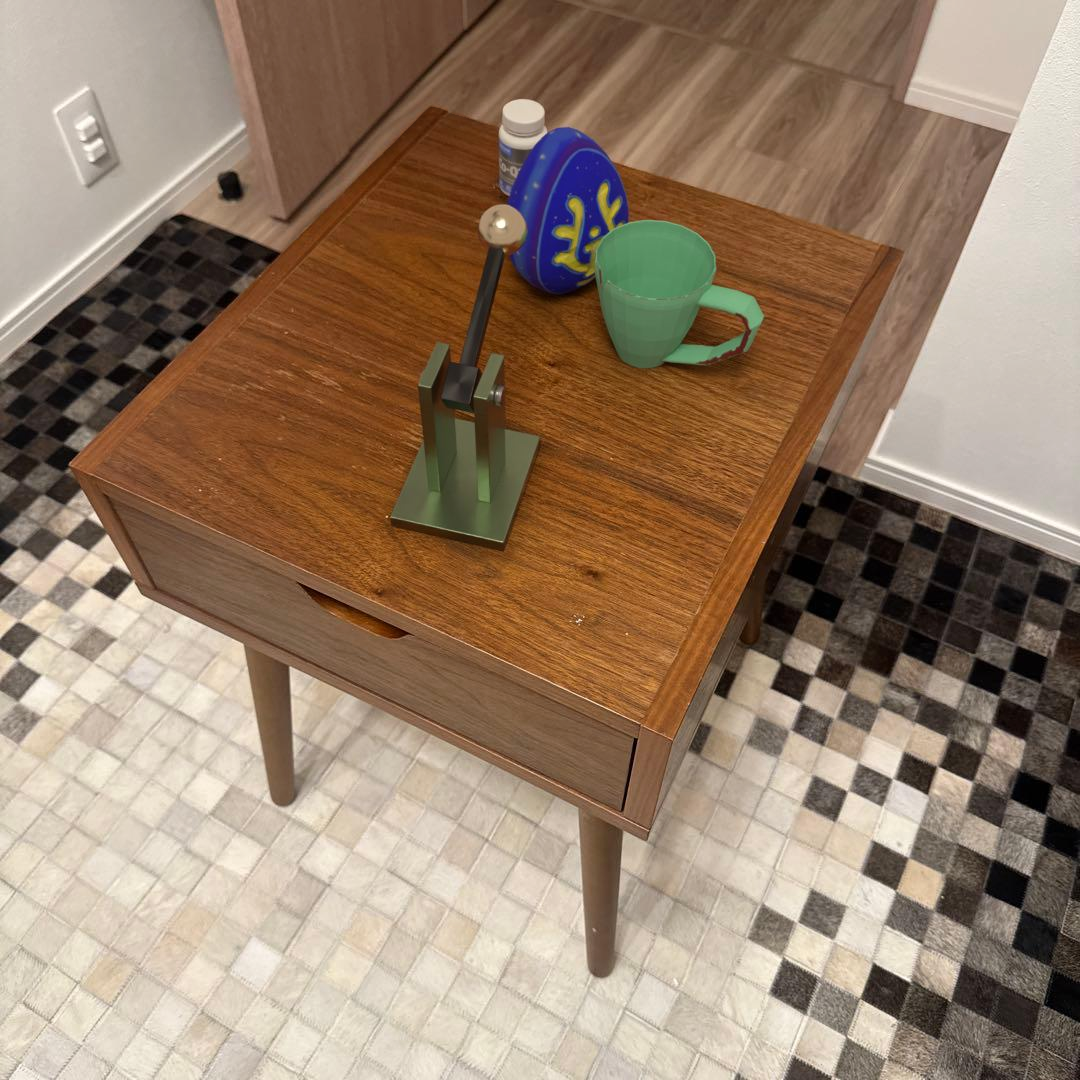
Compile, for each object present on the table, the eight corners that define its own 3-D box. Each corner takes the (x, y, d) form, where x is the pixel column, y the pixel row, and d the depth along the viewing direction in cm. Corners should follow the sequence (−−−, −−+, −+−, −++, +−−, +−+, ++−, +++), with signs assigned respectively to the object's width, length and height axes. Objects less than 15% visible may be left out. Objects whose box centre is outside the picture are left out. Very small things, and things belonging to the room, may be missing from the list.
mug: (567, 361, 93) (572, 271, 85) (620, 296, 98) (630, 205, 90) (720, 428, 89) (741, 339, 81) (767, 356, 94) (791, 266, 86)
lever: (488, 214, 80) (480, 191, 76) (534, 222, 79) (529, 200, 76) (438, 408, 78) (428, 394, 74) (485, 418, 77) (478, 404, 74)
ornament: (544, 329, 96) (548, 186, 83) (483, 274, 100) (478, 130, 87) (637, 279, 100) (654, 135, 87) (575, 228, 104) (583, 84, 92)
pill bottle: (491, 193, 107) (489, 117, 100) (511, 167, 109) (510, 91, 102) (534, 206, 106) (536, 130, 99) (553, 179, 108) (556, 103, 101)
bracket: (435, 423, 89) (424, 305, 78) (540, 445, 88) (543, 328, 77) (391, 526, 83) (373, 413, 72) (503, 551, 81) (502, 440, 71)
